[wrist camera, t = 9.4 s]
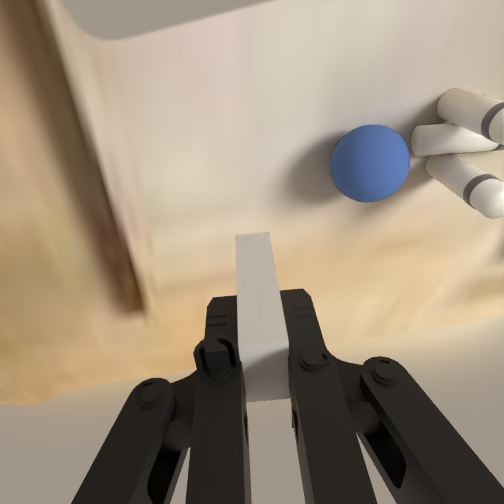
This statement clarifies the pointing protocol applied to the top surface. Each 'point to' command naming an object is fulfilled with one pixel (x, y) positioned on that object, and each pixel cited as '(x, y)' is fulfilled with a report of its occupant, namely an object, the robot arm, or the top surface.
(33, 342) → the top surface
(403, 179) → the ball
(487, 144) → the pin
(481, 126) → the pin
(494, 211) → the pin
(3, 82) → the top surface
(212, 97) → the top surface
